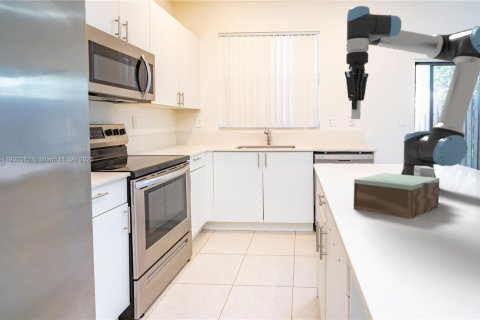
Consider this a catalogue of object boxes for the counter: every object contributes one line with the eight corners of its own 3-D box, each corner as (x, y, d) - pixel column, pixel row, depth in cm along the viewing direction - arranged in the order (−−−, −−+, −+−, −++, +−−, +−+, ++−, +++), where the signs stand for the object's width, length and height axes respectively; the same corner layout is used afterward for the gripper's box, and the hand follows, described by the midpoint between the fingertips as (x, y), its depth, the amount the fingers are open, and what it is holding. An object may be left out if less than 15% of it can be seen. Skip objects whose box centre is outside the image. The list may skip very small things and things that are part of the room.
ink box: (433, 203, 134) (435, 168, 133) (418, 202, 135) (419, 168, 134) (427, 198, 142) (428, 165, 141) (412, 197, 143) (414, 165, 142)
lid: (385, 176, 139) (385, 173, 139) (444, 182, 125) (444, 178, 125) (354, 183, 124) (354, 179, 124) (417, 190, 110) (418, 186, 110)
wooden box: (384, 199, 140) (385, 176, 139) (438, 207, 127) (439, 181, 126) (353, 208, 125) (354, 183, 124) (410, 218, 112) (412, 189, 112)
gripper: (357, 55, 149) (355, 119, 151) (338, 51, 140) (336, 119, 142) (375, 53, 143) (374, 119, 146) (357, 48, 134) (355, 118, 137)
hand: (355, 118), depth 144 cm, fingers closed
